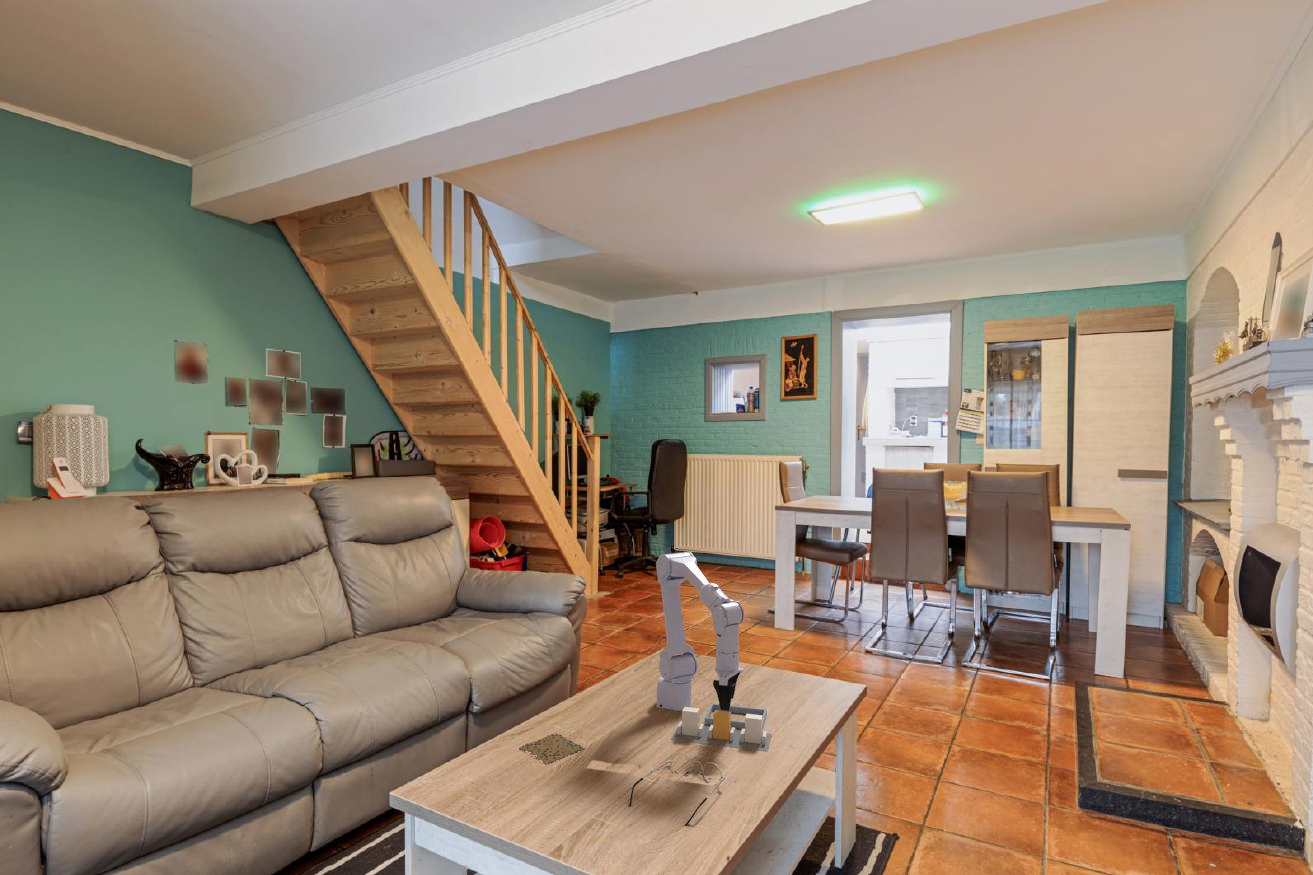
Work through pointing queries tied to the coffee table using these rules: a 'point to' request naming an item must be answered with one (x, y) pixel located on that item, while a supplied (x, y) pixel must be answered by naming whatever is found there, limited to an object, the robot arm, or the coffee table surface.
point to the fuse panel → (734, 741)
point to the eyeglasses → (684, 775)
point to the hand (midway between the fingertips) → (727, 703)
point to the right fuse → (753, 728)
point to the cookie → (552, 748)
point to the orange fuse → (721, 724)
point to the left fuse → (690, 721)
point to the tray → (738, 710)
